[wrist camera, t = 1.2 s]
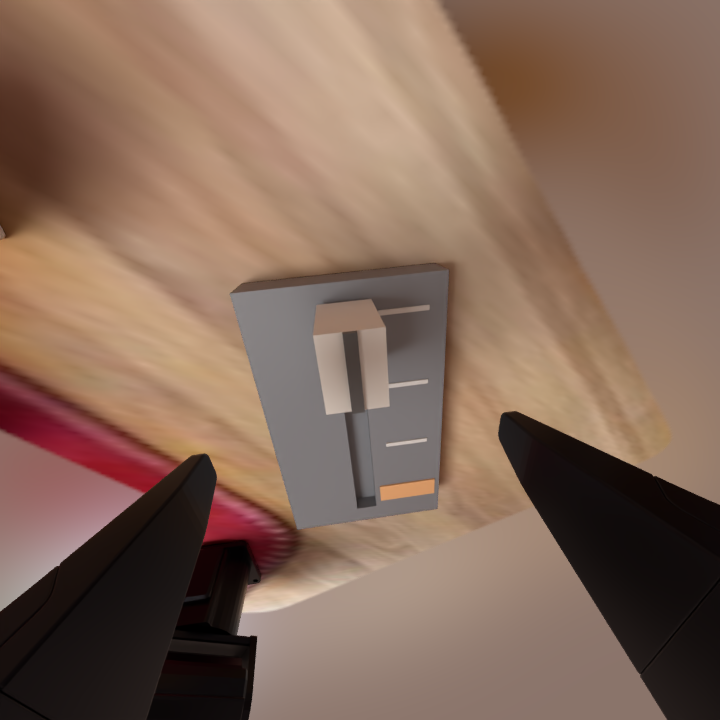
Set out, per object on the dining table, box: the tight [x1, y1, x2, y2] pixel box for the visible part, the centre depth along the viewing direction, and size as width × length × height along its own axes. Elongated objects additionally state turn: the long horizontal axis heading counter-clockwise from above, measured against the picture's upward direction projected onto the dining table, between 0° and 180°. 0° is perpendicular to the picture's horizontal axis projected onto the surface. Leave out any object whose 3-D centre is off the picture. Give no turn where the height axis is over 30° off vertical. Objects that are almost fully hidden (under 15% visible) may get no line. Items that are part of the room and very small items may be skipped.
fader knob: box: [313, 299, 390, 415], centre depth 15 cm, size 4×3×6 cm
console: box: [230, 263, 449, 530], centre depth 22 cm, size 20×12×3 cm, turn 5°
